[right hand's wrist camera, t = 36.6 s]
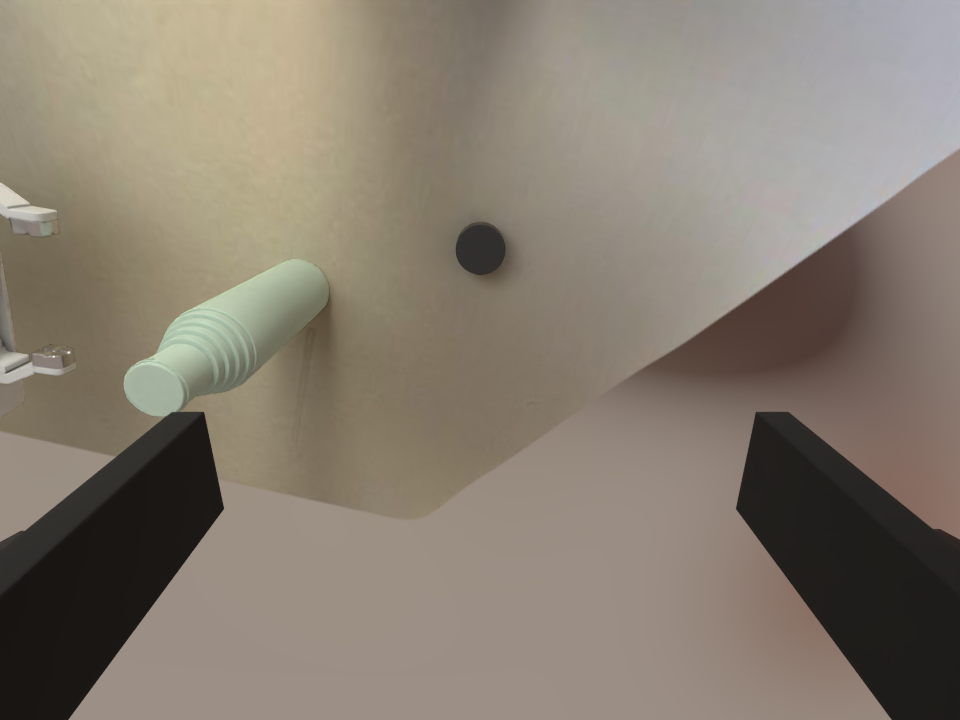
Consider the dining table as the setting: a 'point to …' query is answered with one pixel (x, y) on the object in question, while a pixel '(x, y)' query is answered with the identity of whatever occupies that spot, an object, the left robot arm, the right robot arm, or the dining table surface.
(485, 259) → the cap
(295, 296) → the bottle
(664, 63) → the dining table surface
